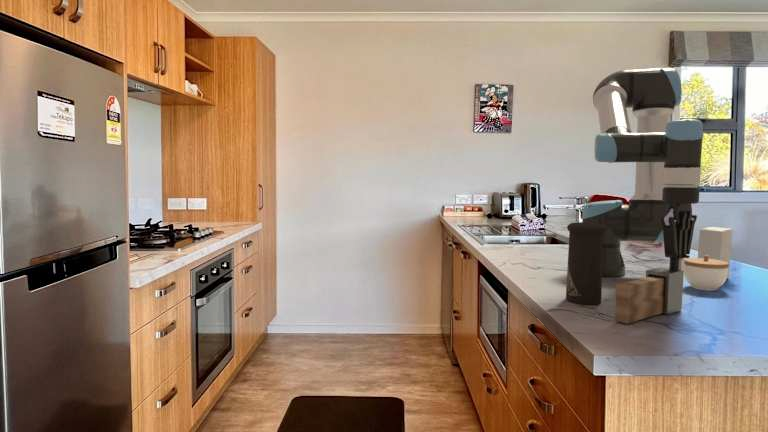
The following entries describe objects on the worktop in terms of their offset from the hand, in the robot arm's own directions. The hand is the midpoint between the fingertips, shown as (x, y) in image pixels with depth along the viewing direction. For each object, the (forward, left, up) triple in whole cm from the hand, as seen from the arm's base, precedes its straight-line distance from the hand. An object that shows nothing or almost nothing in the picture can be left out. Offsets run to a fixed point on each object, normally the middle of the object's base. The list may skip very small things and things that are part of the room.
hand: (675, 284), depth 121 cm
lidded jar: (-19, +22, -6) cm, 29 cm away
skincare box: (-31, +34, -6) cm, 46 cm away
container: (-8, -19, -6) cm, 21 cm away
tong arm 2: (+8, -12, -5) cm, 15 cm away
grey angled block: (+3, -5, -5) cm, 8 cm away
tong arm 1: (+6, -13, -5) cm, 15 cm away
